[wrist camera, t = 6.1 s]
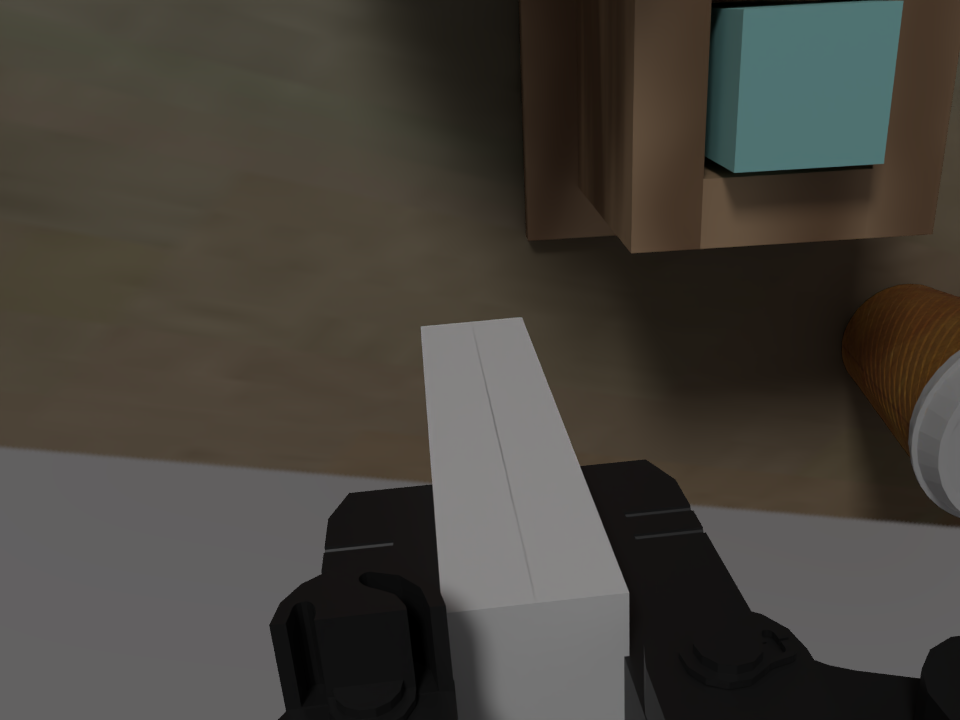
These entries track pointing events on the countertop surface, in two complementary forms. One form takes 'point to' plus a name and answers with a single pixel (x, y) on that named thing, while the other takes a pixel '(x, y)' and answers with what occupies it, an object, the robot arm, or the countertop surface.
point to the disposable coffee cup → (913, 379)
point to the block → (800, 83)
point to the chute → (682, 127)
